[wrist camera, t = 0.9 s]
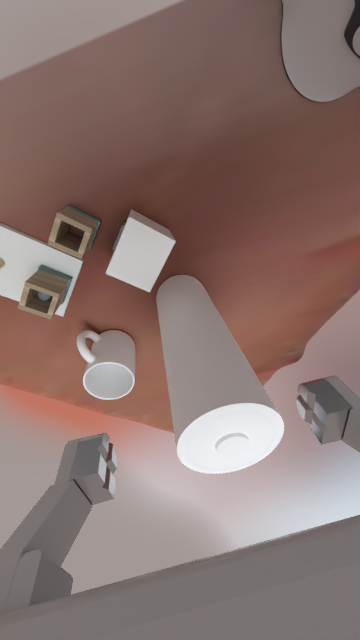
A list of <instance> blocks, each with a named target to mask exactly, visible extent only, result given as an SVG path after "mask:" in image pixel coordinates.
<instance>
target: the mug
mask: <svg viewBox="0 0 360 640" xmlns="http://www.w3.org/2000/svg"><path fill="white" fill-rule="evenodd" d="M86 338H90V339H92V340H93V341H94V342H93V345H92V348H91V351H90V350H89V349H88V348H87V346H86V343H85V339H86ZM77 347H78V350H79V352H80V354H81V355H82V357H83V358H84V359H85V360H86V361H87V362H88V363H87V366H86V370H85V373H84V377H83V384H84V387H85V389H86V390H87V391H88V392H89V393H90V394H91V395H93V396H95V397H97V398H100V399H105V400H112V399H118V398H121V397H123V396H125V395H126V394H128V393H129V392H130V391H131V390H132V388H133V386H134V382H135V344H134V341H133V339H132V338H131V337H130V336H129V335H128V334H126V333H125V332H122V331H119V330H108V331H105V332H103V333H101V334H99V335H98V334H97V333H95V332H93V331H90V330H85V331H82V332H81V333H80V334H79V335H78V337H77Z"/></svg>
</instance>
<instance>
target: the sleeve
mask: <svg viewBox="0 0 360 640" xmlns="http://www.w3.org/2000/svg"><path fill="white" fill-rule="evenodd" d="M100 223H101V220H99V219H97V218H95V217H93V216H91V215H89V214H87V213H85V212H83V211H81V210H79V209H77V208H75V207H73V206H71V205H67V207H66V209H63V210H61V211H58V212H57V213H56V217H55V220H54V224H53V227H52V230H51V234H50V237H49V241H48V244H47V245H50V246H52V247H54V248H57V249H59V250H61V251H63V252H66V253H68V254H70V255H73V256H75V257H77V258H80V259H82V258H83V256H84V255H85V254H86V252H87V251H90V250H91V248H92V245H93V242H94V239H95V237H96V234H97V231H98V229H99V226H100ZM70 225H72V226H74V227H77V228H79V229H81V230H83V231H85V233H84V236H83V239H82V238H79V237H77V236H75V235H73V234H71V233H69V232H68V231H69V227H70Z"/></svg>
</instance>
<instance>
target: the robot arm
mask: <svg viewBox="0 0 360 640" xmlns="http://www.w3.org/2000/svg"><path fill="white" fill-rule="evenodd" d="M282 2H283V22H282V54H283V60H284V64H285V68H286V71H287V74H288V76H289V78H290V80H291V82H292V84H293V85H294V87H295V88H296V89H297V90H298V91H299V92H300V93H301V94H302V95H303V96H305V97H306V98H308V99H310V100H313V101H318V102H327V101H332V100H335V99H338V98H340V97H342V96H344V95H345V94H347V93H349V92H350V91H352V90H354V89H356V88H358V87H360V0H282ZM297 391H298V392H299V393H300V395H299V396H298V397H297V402H296V404H297V407H298V411H299V413H300V415H301V416H302V418H303V419H304V420H305V421H306V422H309V423H310V424H311V431H312V432H313V433H314V435H315V436H316V437H317V439H318V440H319V442H320V443H321V444H325V443H330V442H334V441H339V440H342V441H343V442H345V443H346V444H348V445H349V446H351V447H353V448H354V449H356V450H357V451H359V452H360V398H359V397H358V396H357V395H356V394H355V393H354V392H353V391H352V390H351V389H350V388H349V387H348V386H347V385H346V384H345V383H344V382H343V381H341V380H340V379H339V378H338V377H337V376H330V377H326V378H322V379H317V380H313V381H309V382H305V383H302V384H299V385H298V389H297ZM116 468H117V457H116V450H115V447H114V446H113V444H111V443H109V436H108V434H107V433H102V434H98V435H93V436H89V437H85V438H80V439H76V440H71V441H68V443H67V444H66V446H65V448H64V452H63V456H62V459H61V463H60V466H59V470H58V474H57V477H56V481H55V484H54V485H52V486H50V487H49V488H48V490H47V491H46V492H45V493H44V495H43V496H42V497H41V498H40V500H39V501H38V502H37V504H36V505H35V506H34V507H33V509H32V510H31V511H30V512H29V514H28V515H27V516H26V518H25V519H24V520H23V521H22V523H21V524H20V525H19V526H18V528H17V529H16V530H15V531H14V533H13V534H12V535H11V536H10V538H9V539H8V540H7V541H6V543H5V544H4V545H3V547H2V548H1V549H0V640H360V515H358V516H354V517H350V518H347V519H343V520H340V521H336V522H332V523H329V524H325V525H321V526H318V527H314V528H311V529H307V530H303V531H300V532H296V533H292V534H289V535H285V536H282V537H278V538H274V539H271V540H267V541H264V542H260V543H256V544H253V545H249V546H245V547H242V548H238V549H235V550H231V551H227V552H224V553H220V554H217V555H213V556H209V557H206V558H202V559H198V560H195V561H191V562H188V563H184V564H180V565H177V566H173V567H169V568H166V569H162V570H159V571H155V572H152V573H148V574H144V575H141V576H137V577H134V578H130V579H126V580H123V581H119V582H115V583H112V584H108V585H105V586H101V587H98V588H94V589H90V590H86V591H83V592H79V593H75V594H72V595H71V589H72V583H73V578H72V577H71V575H70V574H69V573H67V572H66V571H65V570H64V569H63V568H61V565H62V563H63V561H64V559H65V557H66V555H67V554H68V552H69V550H70V548H71V546H72V544H73V542H74V541H75V539H76V537H77V535H78V533H79V531H80V529H81V527H82V525H83V523H84V522H85V520H86V518H87V516H88V514H89V512H90V510H91V508H92V505H94V504H97V503H101V502H104V501H108V500H111V499H114V493H115V483H116V480H115V478H114V476H113V473H114V472H115V470H116Z"/></svg>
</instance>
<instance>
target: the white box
mask: <svg viewBox="0 0 360 640" xmlns="http://www.w3.org/2000/svg"><path fill="white" fill-rule="evenodd" d="M175 242H176V241H175V239H174V237H173V236H172V234H171V232H170V231H169V229H167V228H165V227H163V226H162V225H160V224H158V223H156V222H154V221H152V220H150V219H149V218H147V217H145V216H143V215H141V214H139V213H137V212H136V211H134V210H132V209H131V211H130V213H129V216H128V218H127V220H126V222H123V224H122V226H121V229H120V231H119V234H118V236H117V239H116V241H115V244H114V246H113V249H112V250H113V251H114V252H113V255H112V257H111V260H110V263H109V266H108V268H107V271H106V274H108V275H110V276H112V277H115V278H117V279H119V280H122V281H124V282H126V283H129V284H131V285H133V286H136V287H138V288H140V289H143V290H145V291H147V292H150V291H151V289H152V287H153V285H154V283H155V281H156V279H157V277H158V275H159V273H160V271H161V269H162V267H163V266H164V264H165V262H166V260H167V258H168V256H169V254H170V252H171V250H172V248H173V246H174V244H175Z"/></svg>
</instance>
